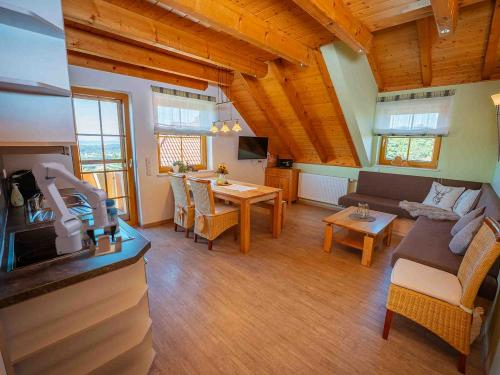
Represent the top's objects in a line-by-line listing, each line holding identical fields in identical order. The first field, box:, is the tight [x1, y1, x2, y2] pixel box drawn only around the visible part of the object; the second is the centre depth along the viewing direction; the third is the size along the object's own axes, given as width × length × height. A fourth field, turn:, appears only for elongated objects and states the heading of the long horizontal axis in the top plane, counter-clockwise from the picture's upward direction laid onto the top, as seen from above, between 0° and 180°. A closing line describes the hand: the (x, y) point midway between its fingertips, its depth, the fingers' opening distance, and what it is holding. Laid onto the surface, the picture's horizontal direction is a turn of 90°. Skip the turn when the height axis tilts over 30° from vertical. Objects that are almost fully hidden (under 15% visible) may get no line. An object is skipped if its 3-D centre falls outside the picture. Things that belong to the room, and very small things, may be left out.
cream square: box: [94, 244, 115, 256], centre depth 115 cm, size 8×9×1 cm
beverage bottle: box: [103, 198, 121, 237], centre depth 137 cm, size 8×8×20 cm
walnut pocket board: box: [86, 235, 123, 260], centre depth 120 cm, size 14×22×1 cm, turn 28°
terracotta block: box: [97, 234, 112, 253], centre depth 115 cm, size 4×6×6 cm
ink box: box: [76, 214, 91, 242], centre depth 129 cm, size 7×4×13 cm, turn 168°
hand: (104, 242), depth 114 cm, fingers open, 7 cm apart
